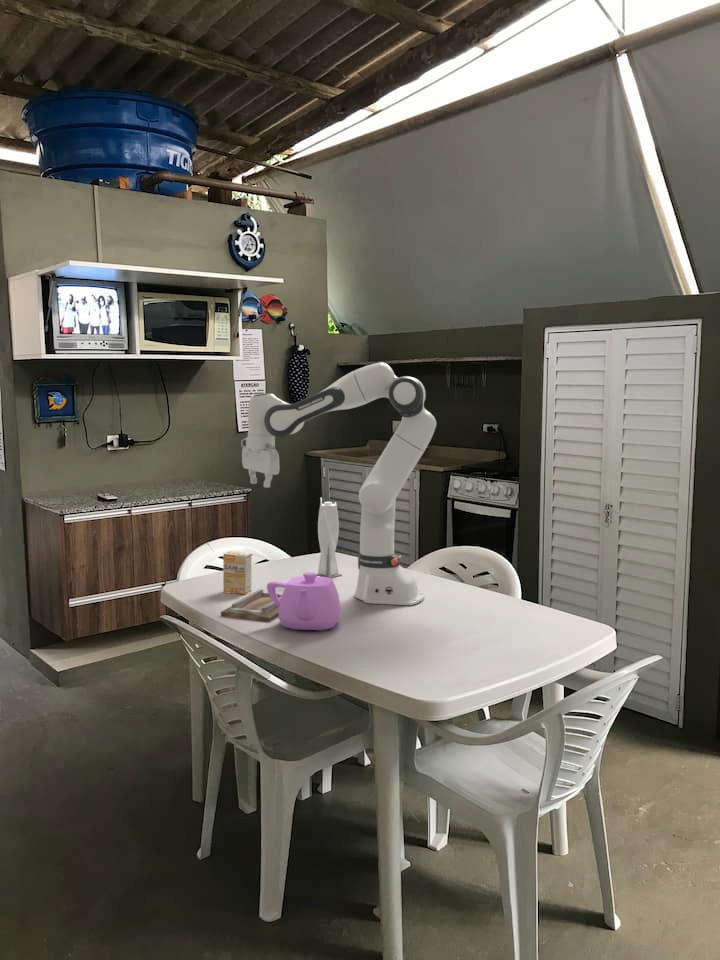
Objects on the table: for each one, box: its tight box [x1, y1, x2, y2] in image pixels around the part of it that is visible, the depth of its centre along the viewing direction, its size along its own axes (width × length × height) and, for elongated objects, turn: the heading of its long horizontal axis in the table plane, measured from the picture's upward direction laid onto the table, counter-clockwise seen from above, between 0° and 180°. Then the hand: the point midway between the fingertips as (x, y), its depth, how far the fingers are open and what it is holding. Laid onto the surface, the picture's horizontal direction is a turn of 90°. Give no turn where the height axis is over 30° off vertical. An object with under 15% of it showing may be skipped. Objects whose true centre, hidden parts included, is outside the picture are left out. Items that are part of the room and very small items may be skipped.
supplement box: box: [222, 550, 253, 595], centre depth 252 cm, size 8×5×13 cm, turn 73°
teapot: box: [266, 571, 342, 632], centre depth 215 cm, size 23×21×15 cm
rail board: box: [220, 589, 283, 623], centre depth 234 cm, size 16×22×3 cm
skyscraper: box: [316, 497, 343, 579], centre depth 275 cm, size 8×8×28 cm
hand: (260, 485), depth 252 cm, fingers open, 8 cm apart
